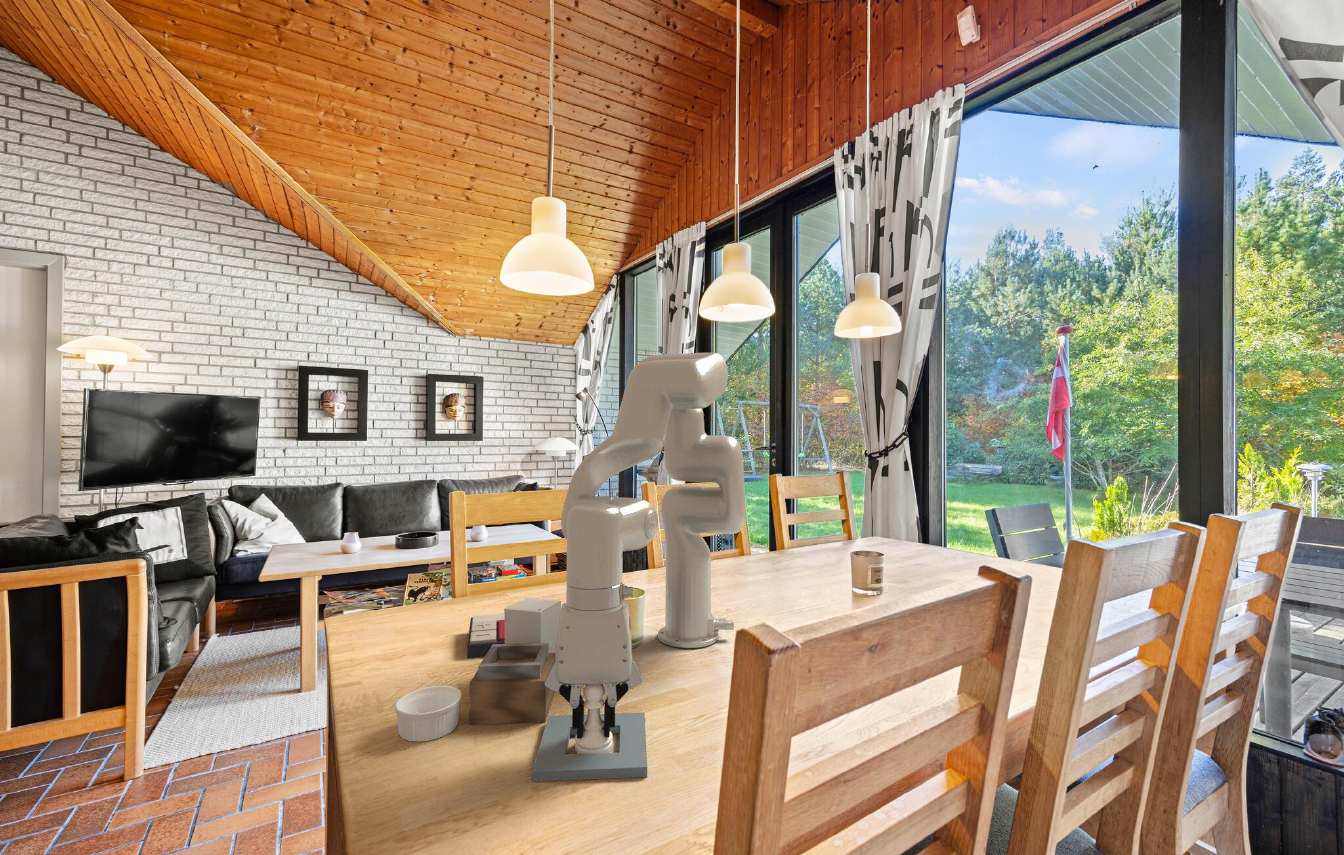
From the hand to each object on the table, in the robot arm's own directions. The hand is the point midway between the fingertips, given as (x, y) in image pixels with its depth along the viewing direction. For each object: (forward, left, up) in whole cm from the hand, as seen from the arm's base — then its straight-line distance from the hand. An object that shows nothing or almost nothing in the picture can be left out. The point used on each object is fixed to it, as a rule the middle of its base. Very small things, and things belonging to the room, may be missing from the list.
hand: (593, 731), depth 77 cm
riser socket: (+13, -13, -2) cm, 19 cm away
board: (0, 0, -2) cm, 2 cm away
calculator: (+22, -41, -3) cm, 47 cm away
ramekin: (+24, -7, -3) cm, 25 cm away
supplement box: (+12, -24, -2) cm, 27 cm away
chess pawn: (0, 0, -2) cm, 2 cm away
